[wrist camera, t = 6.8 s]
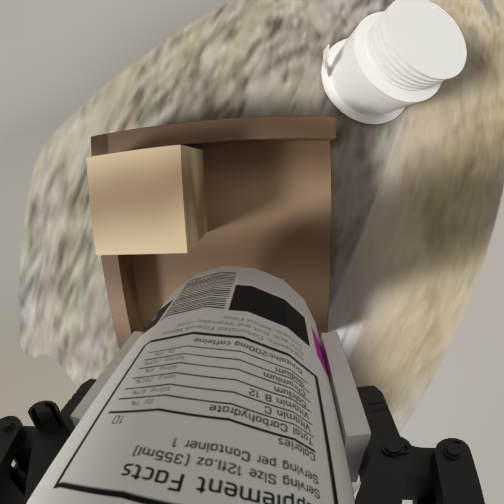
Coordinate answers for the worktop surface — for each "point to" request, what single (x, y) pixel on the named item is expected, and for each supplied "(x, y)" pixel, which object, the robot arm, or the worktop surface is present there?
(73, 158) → the worktop surface
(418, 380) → the worktop surface
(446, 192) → the worktop surface
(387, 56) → the downlight
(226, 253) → the tray
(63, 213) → the worktop surface
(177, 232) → the smooth beige cube
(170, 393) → the supplement can
